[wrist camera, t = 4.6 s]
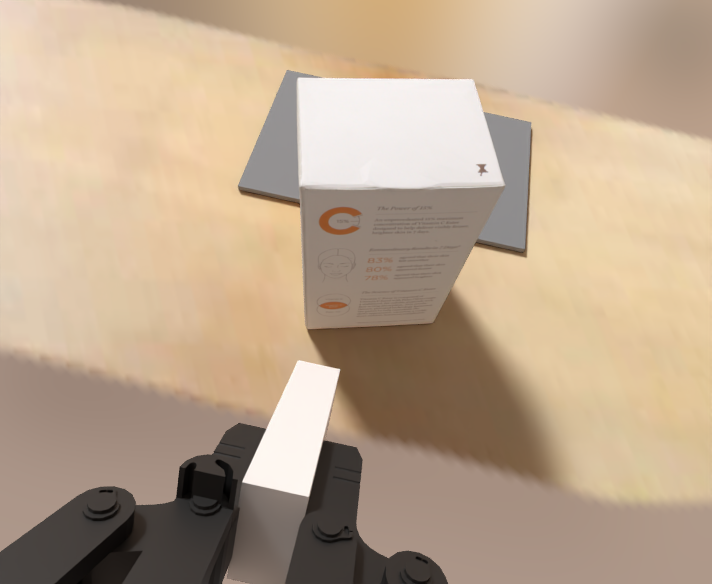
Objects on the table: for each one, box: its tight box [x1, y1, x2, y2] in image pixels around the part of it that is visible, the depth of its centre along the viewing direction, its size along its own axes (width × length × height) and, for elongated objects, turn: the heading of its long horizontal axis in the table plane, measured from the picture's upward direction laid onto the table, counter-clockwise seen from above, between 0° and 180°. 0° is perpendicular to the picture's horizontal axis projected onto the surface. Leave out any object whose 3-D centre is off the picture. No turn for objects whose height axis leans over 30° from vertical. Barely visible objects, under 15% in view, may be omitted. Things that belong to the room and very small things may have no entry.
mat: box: [238, 70, 531, 252], centre depth 36 cm, size 20×12×1 cm, turn 78°
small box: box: [297, 77, 505, 329], centre depth 25 cm, size 8×6×13 cm
